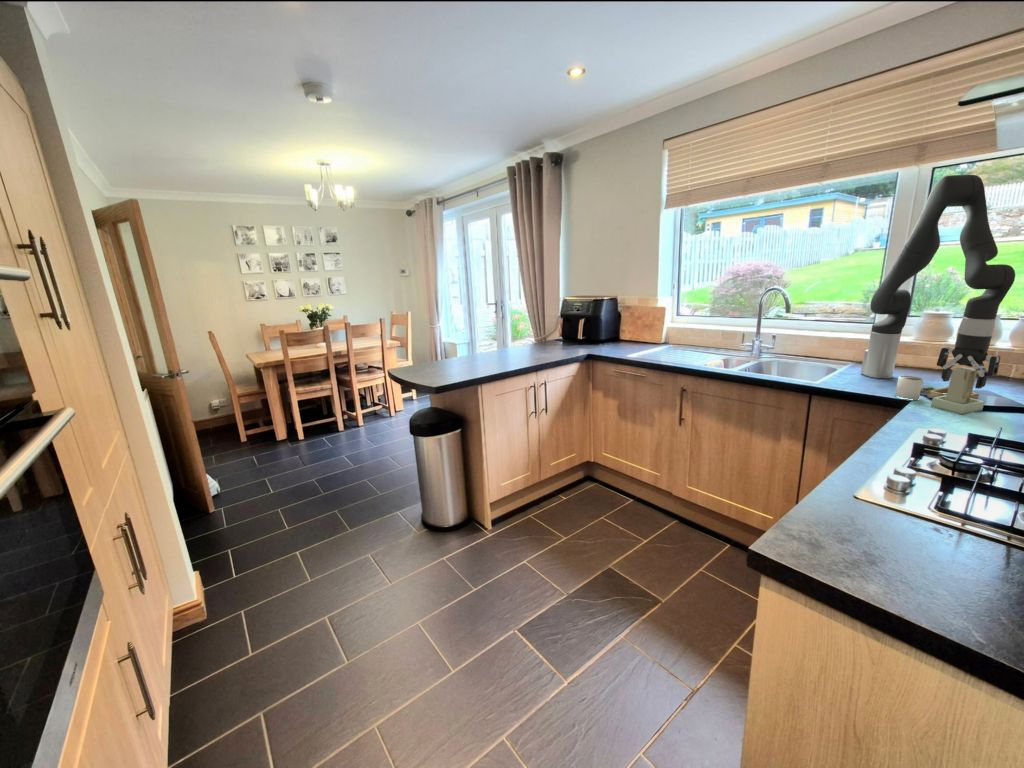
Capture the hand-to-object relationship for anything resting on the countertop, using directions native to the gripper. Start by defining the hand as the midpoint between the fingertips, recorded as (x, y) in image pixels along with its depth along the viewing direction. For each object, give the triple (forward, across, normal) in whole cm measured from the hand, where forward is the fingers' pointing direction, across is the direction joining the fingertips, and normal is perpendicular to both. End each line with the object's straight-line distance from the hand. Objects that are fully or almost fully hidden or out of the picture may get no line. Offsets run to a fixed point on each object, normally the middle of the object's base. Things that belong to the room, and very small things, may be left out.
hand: (961, 384), depth 149 cm
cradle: (+8, +8, -9) cm, 15 cm away
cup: (+8, +13, +2) cm, 15 cm away
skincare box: (+8, 0, 0) cm, 8 cm away
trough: (+8, 0, 0) cm, 8 cm away
